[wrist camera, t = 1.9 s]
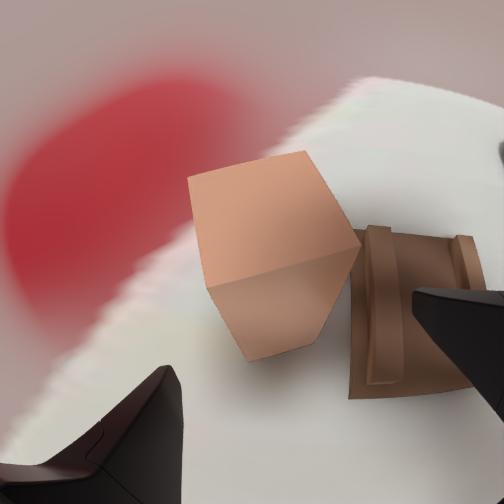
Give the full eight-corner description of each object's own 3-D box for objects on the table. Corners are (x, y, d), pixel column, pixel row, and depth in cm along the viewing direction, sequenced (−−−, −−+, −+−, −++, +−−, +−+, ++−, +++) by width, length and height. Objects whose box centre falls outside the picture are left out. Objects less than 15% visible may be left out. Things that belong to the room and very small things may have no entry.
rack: (483, 384, 15) (504, 377, 13) (348, 399, 17) (360, 397, 14) (463, 245, 22) (476, 228, 20) (348, 235, 24) (355, 214, 22)
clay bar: (314, 342, 19) (361, 245, 8) (248, 362, 19) (206, 287, 8) (293, 284, 22) (305, 150, 11) (232, 301, 22) (187, 177, 11)
